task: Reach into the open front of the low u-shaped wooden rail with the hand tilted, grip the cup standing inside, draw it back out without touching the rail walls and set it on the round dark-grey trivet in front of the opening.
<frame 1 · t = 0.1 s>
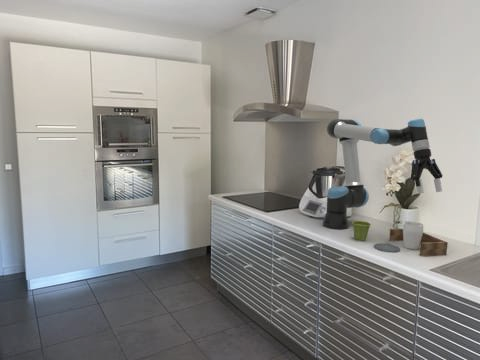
hand: (430, 192, 170), 28 cm above the worktop, tool tilted 20°, fingers open, 13 cm apart
cup: (411, 247, 174), on the worktop
trivet: (386, 248, 172), on the worktop
plant pot: (360, 239, 186), on the worktop
u-shaped wooden rail: (411, 247, 174), on the worktop
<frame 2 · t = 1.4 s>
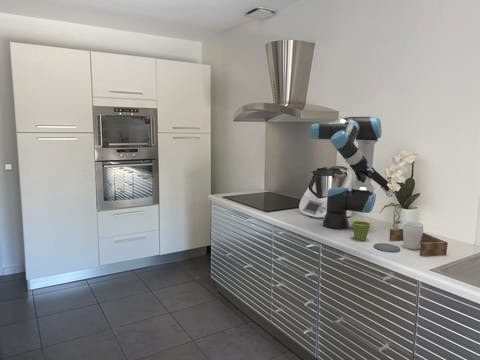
hand: (381, 192, 166), 28 cm above the worktop, tool tilted 45°, fingers open, 13 cm apart
nothing on the worktop moved.
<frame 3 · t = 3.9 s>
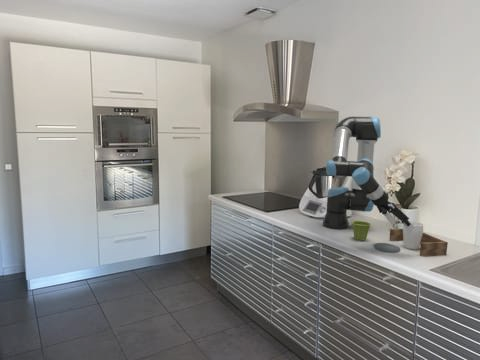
hand: (402, 226, 170), 11 cm above the worktop, tool tilted 45°, fingers open, 13 cm apart
nothing on the worktop moved.
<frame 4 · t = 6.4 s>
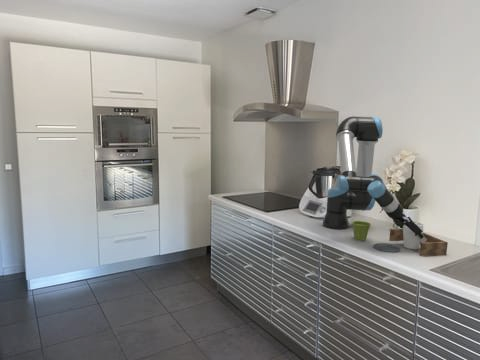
hand: (417, 238, 174), 4 cm above the worktop, tool tilted 45°, fingers closed on cup, 9 cm apart
cup: (411, 247, 174), on the worktop, touching gripper
everything else where it was.
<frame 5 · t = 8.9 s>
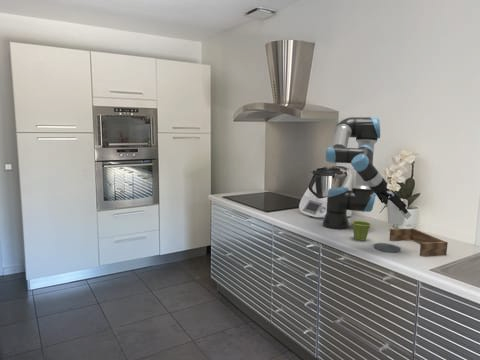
hand: (402, 214, 171), 17 cm above the worktop, tool tilted 45°, fingers closed on cup, 9 cm apart
cup: (395, 224, 171), point 12 cm above the worktop, touching gripper
everything else where it was.
when the fingers open (7 cm above the worktop, at t = 11.6 s): cup drops 2 cm, resting on trivet.
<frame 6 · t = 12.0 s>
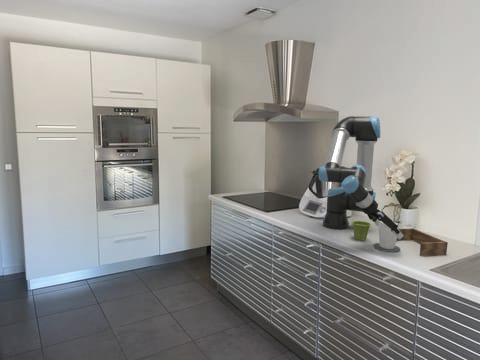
hand: (392, 233, 171), 7 cm above the worktop, tool tilted 45°, fingers open, 13 cm apart
cup: (386, 247, 171), resting on trivet
everything else where it was.
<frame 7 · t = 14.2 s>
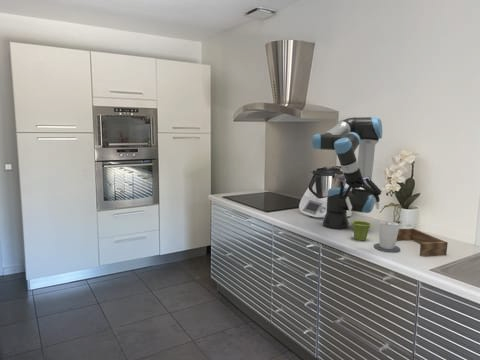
hand: (364, 208, 171), 19 cm above the worktop, tool tilted 25°, fingers open, 13 cm apart
nothing on the worktop moved.
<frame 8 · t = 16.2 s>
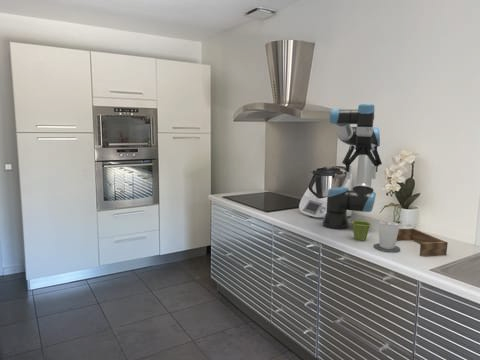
hand: (360, 178, 176), 33 cm above the worktop, tool pointing down, fingers open, 13 cm apart
nothing on the worktop moved.
at the end: cup 0.1 cm from the trivet (horizontally); cup tilted 0°; cup touching trivet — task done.
